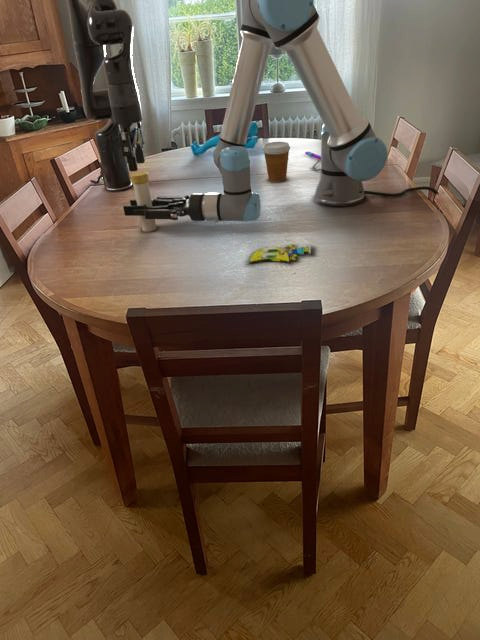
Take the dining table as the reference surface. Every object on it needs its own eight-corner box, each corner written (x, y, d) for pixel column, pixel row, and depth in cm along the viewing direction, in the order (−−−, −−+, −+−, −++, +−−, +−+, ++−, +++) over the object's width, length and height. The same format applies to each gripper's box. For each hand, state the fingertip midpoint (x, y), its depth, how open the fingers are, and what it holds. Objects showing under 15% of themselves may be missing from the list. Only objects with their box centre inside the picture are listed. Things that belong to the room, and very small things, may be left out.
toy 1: (196, 135, 216) (258, 115, 205) (204, 158, 221) (266, 140, 210) (185, 145, 202) (251, 124, 192) (194, 169, 207) (259, 150, 197)
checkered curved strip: (342, 175, 173) (362, 153, 185) (341, 169, 172) (361, 148, 184) (283, 174, 186) (305, 153, 198) (282, 169, 184) (305, 148, 196)
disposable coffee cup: (260, 182, 170) (258, 147, 164) (269, 174, 177) (267, 141, 171) (286, 183, 167) (285, 148, 160) (294, 175, 174) (293, 141, 168)
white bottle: (151, 232, 139) (140, 177, 131) (139, 231, 141) (128, 176, 132) (159, 227, 143) (149, 173, 134) (147, 225, 144) (137, 172, 136)
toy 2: (311, 260, 114) (248, 260, 116) (311, 263, 115) (248, 263, 117) (311, 242, 123) (252, 243, 125) (311, 245, 123) (253, 246, 125)
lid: (142, 184, 131) (140, 176, 130) (127, 183, 133) (126, 175, 132) (152, 178, 135) (151, 171, 134) (138, 177, 137) (136, 170, 136)
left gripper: (118, 99, 130) (131, 161, 138) (102, 108, 118) (116, 175, 126) (145, 96, 129) (156, 159, 138) (131, 105, 117) (144, 173, 126)
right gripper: (198, 232, 130) (118, 231, 134) (214, 209, 144) (141, 209, 148) (194, 205, 125) (112, 205, 130) (211, 184, 139) (136, 185, 144)
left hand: (137, 166), depth 132 cm, fingers open, 7 cm apart
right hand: (128, 207), depth 139 cm, fingers closed on white bottle, 4 cm apart
